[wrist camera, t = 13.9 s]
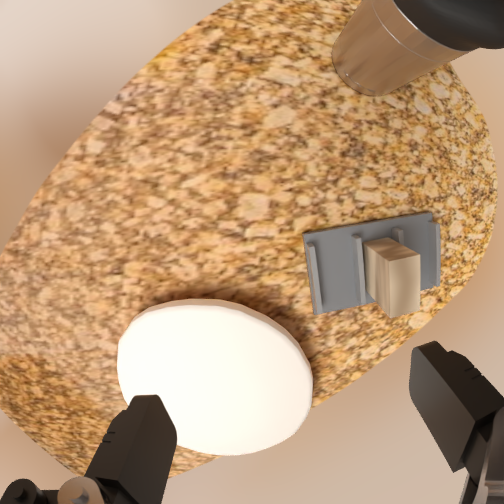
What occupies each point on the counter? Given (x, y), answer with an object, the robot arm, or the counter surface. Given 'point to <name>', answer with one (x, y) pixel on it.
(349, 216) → the counter surface
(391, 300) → the block
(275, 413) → the plate
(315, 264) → the rack
